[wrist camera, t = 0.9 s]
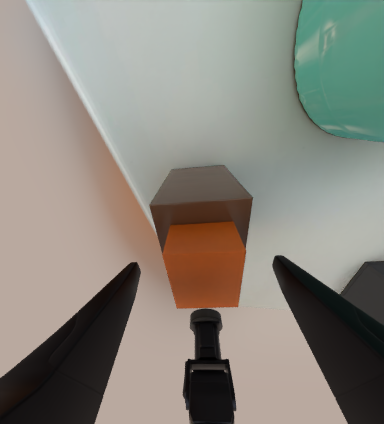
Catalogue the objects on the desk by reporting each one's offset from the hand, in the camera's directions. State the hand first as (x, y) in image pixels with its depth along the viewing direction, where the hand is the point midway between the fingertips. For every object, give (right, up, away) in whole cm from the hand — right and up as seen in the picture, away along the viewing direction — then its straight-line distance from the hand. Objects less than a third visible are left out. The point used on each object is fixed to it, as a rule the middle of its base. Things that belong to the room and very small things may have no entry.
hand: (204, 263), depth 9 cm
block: (0, +1, +1) cm, 1 cm away
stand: (0, +5, +9) cm, 10 cm away
